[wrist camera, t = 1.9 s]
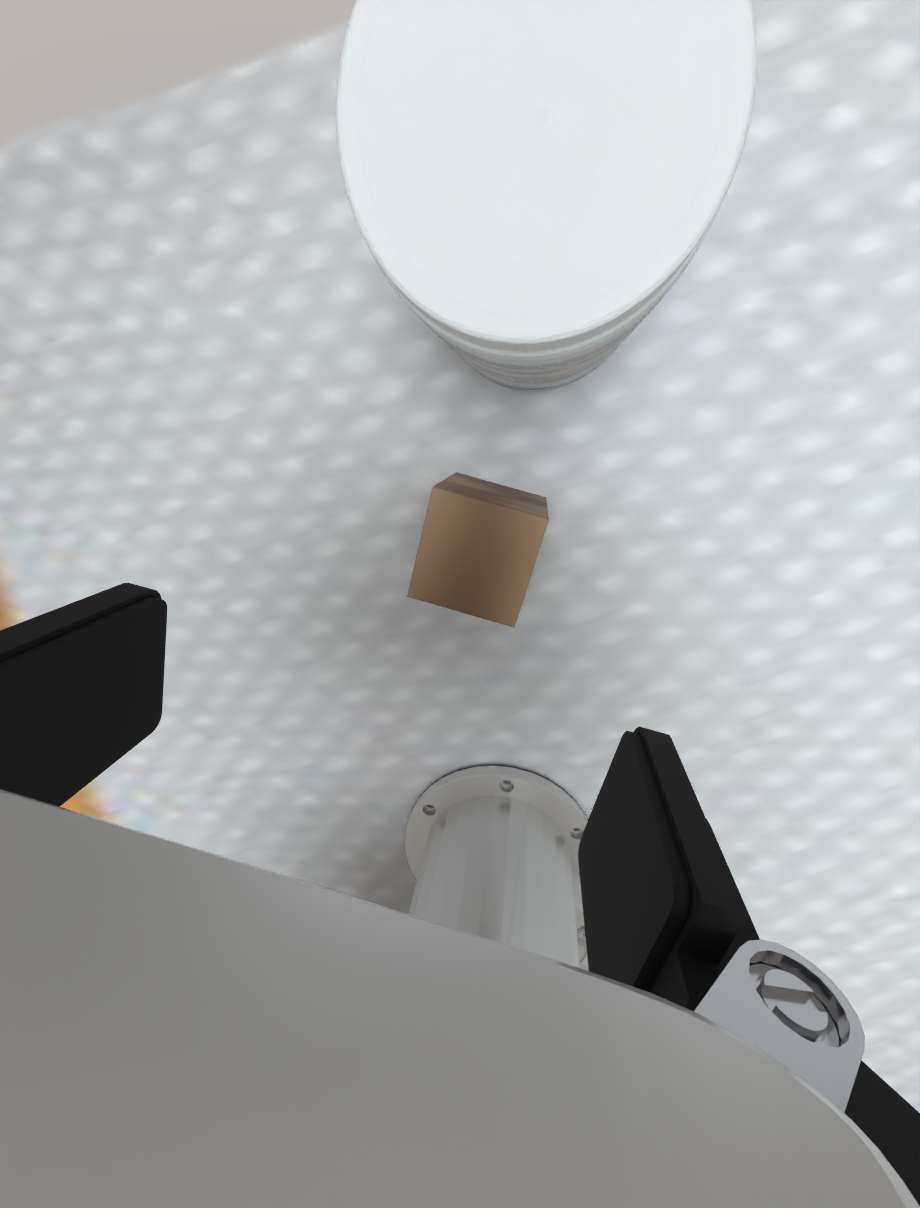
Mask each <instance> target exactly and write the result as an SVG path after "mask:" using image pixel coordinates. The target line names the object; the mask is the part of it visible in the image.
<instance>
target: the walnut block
mask: <svg viewBox="0 0 920 1208" xmlns="http://www.w3.org/2000/svg"><path fill="white" fill-rule="evenodd" d="M548 520H549V519H548V511H547V503H546V497H542V496H538V495H535V494H531V493H528V492H524V491H521V490H517V489H513V488H510V487H506V486H503V485H499V484H496V483H492V482H488V481H485V480H481V479H478V478H474V477H471V476H467V475H463V474H460V473H455V474H453V475H452V476H450V477H448V478H447V479H445V480H444V481H442V482H440V483H439V484H437V485H436V486H434V487H433V488H432V493H431V497H430V501H429V505H428V510H427V514H426V518H425V522H424V527H423V531H422V535H421V539H420V544H419V548H418V552H417V556H416V561H415V565H414V569H413V573H412V578H411V582H410V586H409V591H408V595H407V596H408V597H411V598H414V599H418V600H421V601H425V602H428V603H432V604H435V605H438V606H442V607H445V608H449V609H452V610H456V611H459V612H462V613H466V614H469V615H473V616H476V617H480V618H483V619H486V620H490V621H493V622H497V623H500V624H504V625H507V626H510V627H515V624H516V621H517V618H518V615H519V611H520V608H521V605H522V602H523V599H524V596H525V593H526V589H527V586H528V583H529V580H530V577H531V574H532V571H533V567H534V564H535V561H536V558H537V555H538V552H539V548H540V545H541V542H542V539H543V536H544V533H545V530H546V526H547V523H548Z"/></svg>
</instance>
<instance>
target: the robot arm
mask: <svg viewBox="0 0 920 1208" xmlns="http://www.w3.org/2000/svg"><path fill="white" fill-rule="evenodd" d="M166 622H167V605H166V602H165V601H164V600H161V596H160V594H159V593H158V592H157V591H156V590H152V589H149V588H145V587H142V586H138V585H134V584H131V583H123V584H121V585H118V586H115V587H113V588H110V589H108V590H105V591H102V592H100V593H97V594H95V595H92V596H89V597H87V598H84V599H82V600H79V601H76V602H74V603H71V604H68V605H66V606H63V607H61V608H58V609H55V610H53V611H50V612H48V613H45V614H42V615H40V616H37V617H35V618H32V619H29V620H27V621H24V622H22V623H19V624H16V625H14V626H11V627H9V628H6V629H3V630H1V631H0V1208H920V1113H919V1112H918V1111H917V1110H915V1109H914V1108H913V1107H912V1106H911V1105H910V1104H909V1103H908V1102H907V1101H906V1100H904V1099H903V1098H902V1097H901V1096H900V1095H899V1094H898V1093H897V1092H896V1091H895V1090H893V1089H892V1088H891V1087H890V1086H889V1085H888V1084H887V1083H886V1082H885V1081H883V1080H882V1079H881V1078H880V1077H879V1076H878V1075H877V1074H876V1073H875V1072H874V1071H872V1070H871V1069H870V1068H869V1067H868V1066H867V1065H866V1064H865V1063H864V1062H863V1061H861V1059H862V1056H863V1053H864V1041H865V1035H864V1032H863V1029H862V1026H861V1023H860V1020H859V1017H858V1016H857V1014H856V1012H855V1011H854V1009H853V1008H852V1006H851V1004H850V1003H849V1001H848V999H847V998H846V997H845V995H844V994H843V993H842V992H841V991H840V990H839V988H838V987H837V986H836V985H835V984H834V983H833V981H832V980H831V979H830V978H829V977H827V976H826V975H825V974H824V973H823V972H822V971H821V970H820V969H818V968H817V967H816V966H815V965H814V964H813V963H811V962H810V961H808V960H807V959H805V958H804V957H802V956H801V955H799V954H798V953H796V952H795V951H793V950H791V949H789V948H786V947H784V946H782V945H780V944H778V943H774V942H770V941H766V940H760V939H759V937H758V934H757V932H756V930H755V927H754V925H753V923H752V921H751V918H750V916H749V914H748V911H747V909H746V907H745V904H744V902H743V900H742V897H741V895H740V893H739V891H738V888H737V886H736V884H735V881H734V879H733V877H732V874H731V872H730V870H729V867H728V865H727V863H726V861H725V858H724V856H723V854H722V851H721V849H720V847H719V844H718V842H717V840H716V837H715V835H714V833H713V831H712V828H711V826H710V824H709V822H708V821H707V819H706V818H705V816H704V814H703V811H702V809H701V807H700V804H699V802H698V800H697V797H696V795H695V793H694V790H693V788H692V786H691V783H690V781H689V779H688V776H687V774H686V772H685V769H684V767H683V765H682V762H681V760H680V758H679V755H678V753H677V751H676V748H675V746H674V744H673V741H672V739H671V737H670V736H669V735H667V734H664V733H660V732H657V731H653V730H650V729H646V728H642V727H638V728H636V729H635V731H634V732H629V731H626V732H625V733H624V734H623V736H622V738H621V741H620V743H619V746H618V748H617V750H616V753H615V755H614V758H613V760H612V763H611V765H610V768H609V770H608V773H607V775H606V778H605V780H604V782H603V785H602V787H601V790H600V792H599V795H598V797H597V800H596V802H595V805H594V807H593V810H592V812H591V814H590V817H589V819H588V820H587V817H586V816H585V814H584V813H583V811H582V810H581V809H580V807H579V806H578V804H577V803H576V802H575V801H574V800H573V799H572V798H571V797H570V796H569V795H568V794H567V793H566V792H565V791H564V790H562V789H561V788H559V787H558V786H556V785H555V784H553V783H552V782H551V781H549V780H547V779H545V778H542V777H540V776H538V775H536V774H534V773H531V772H528V771H524V770H520V769H517V768H512V767H503V766H478V767H472V768H468V769H464V770H459V771H457V772H454V773H452V774H450V775H447V776H445V777H443V778H441V779H440V780H439V781H437V782H436V783H434V784H433V785H431V786H430V787H429V788H428V789H427V790H426V791H425V792H424V793H423V794H422V795H421V796H420V798H419V799H418V801H417V803H416V804H415V806H414V808H413V809H412V812H411V815H410V818H409V821H408V824H407V828H406V834H405V853H406V856H407V860H408V863H409V867H410V869H411V871H412V873H413V875H414V877H415V879H416V880H417V882H416V886H415V889H414V893H413V897H412V901H411V905H410V908H409V912H408V914H407V913H404V912H401V911H398V910H395V909H391V908H388V907H385V906H382V905H379V904H375V903H372V902H369V901H366V900H362V899H359V898H356V897H353V896H350V895H346V894H343V893H340V892H337V891H333V890H330V889H327V888H324V887H320V886H317V885H314V884H311V883H307V882H304V881H301V880H298V879H294V878H291V877H288V876H285V875H281V874H278V873H275V872H272V871H268V870H265V869H262V868H259V867H255V866H252V865H249V864H246V863H242V862H239V861H236V860H233V859H229V858H226V857H223V856H219V855H216V854H213V853H210V852H206V851H203V850H200V849H196V848H193V847H190V846H187V845H183V844H180V843H177V842H173V841H170V840H167V839H164V838H160V837H157V836H154V835H150V834H147V833H144V832H141V831H137V830H134V829H131V828H127V827H124V826H121V825H118V824H114V823H111V822H108V821H104V820H101V819H98V818H94V817H91V816H88V815H85V814H81V813H78V812H75V811H71V810H68V809H65V808H61V807H60V806H61V805H62V804H63V803H65V802H66V801H67V800H68V799H70V798H71V797H72V796H73V795H75V794H76V793H77V792H78V791H80V790H81V789H82V788H83V787H85V786H86V785H87V784H88V783H90V782H91V781H92V780H93V779H95V778H96V777H97V776H98V775H100V774H101V773H102V772H103V771H105V770H106V769H107V768H108V767H110V766H111V765H112V764H113V763H115V762H116V761H117V760H118V759H120V758H121V757H122V756H123V755H125V754H126V753H127V752H128V751H130V750H131V749H132V748H133V747H135V746H136V745H137V744H138V743H140V742H141V741H142V740H143V739H145V738H146V737H147V736H148V735H150V734H151V733H152V732H153V731H154V730H155V729H156V727H157V726H158V724H159V722H160V719H161V715H162V700H163V681H164V661H165V642H166ZM581 926H583V927H585V935H584V934H581V933H579V932H577V930H578V929H579V928H580V927H581Z"/></svg>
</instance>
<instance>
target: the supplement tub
mask: <svg viewBox="0 0 920 1208" xmlns="http://www.w3.org/2000/svg"><path fill="white" fill-rule="evenodd" d="M756 63H757V41H756V26H755V15H754V9H753V4H752V0H356V2H355V5H354V8H353V11H352V14H351V17H350V20H349V23H348V27H347V30H346V34H345V39H344V44H343V48H342V53H341V59H340V65H339V73H338V80H337V94H336V133H337V145H338V153H339V161H340V168H341V172H342V176H343V180H344V185H345V189H346V193H347V197H348V200H349V203H350V206H351V209H352V212H353V214H354V217H355V220H356V222H357V225H358V227H359V229H360V231H361V234H362V236H363V238H364V240H365V242H366V243H367V245H368V247H369V249H370V251H371V253H372V254H373V256H374V258H375V259H376V261H377V263H378V265H379V267H380V269H381V271H382V272H383V274H384V276H385V277H386V279H387V280H388V282H389V283H390V285H391V286H392V287H393V289H394V290H395V291H396V293H397V294H398V295H399V296H400V297H401V299H402V300H403V301H404V302H405V303H406V304H407V305H408V306H409V308H410V309H411V310H412V311H413V312H414V313H415V314H416V315H417V316H418V317H419V318H420V319H421V320H422V321H424V322H425V323H426V324H427V325H428V326H429V327H430V328H431V329H432V330H433V331H434V332H435V333H436V334H437V335H438V336H439V337H441V338H442V339H443V340H444V341H445V342H446V343H447V344H448V345H449V346H450V347H451V348H452V349H453V350H455V351H456V352H457V353H458V354H459V355H460V356H461V357H462V358H463V359H464V360H465V361H466V362H467V363H468V364H469V365H471V366H472V367H473V368H474V369H475V370H476V371H478V372H479V373H480V374H482V375H483V376H485V377H487V378H488V379H490V380H492V381H494V382H496V383H498V384H500V385H503V386H506V387H509V388H513V389H518V390H526V391H543V390H550V389H554V388H557V387H561V386H564V385H567V384H569V383H572V382H574V381H576V380H578V379H580V378H582V377H584V376H585V375H587V374H588V373H590V372H591V371H593V370H594V369H595V368H596V367H598V366H599V365H600V364H601V363H602V362H604V361H605V360H606V359H607V358H608V357H609V356H610V355H611V354H612V353H613V351H614V350H615V349H616V348H617V347H618V346H619V345H620V344H621V343H622V342H623V341H624V340H625V339H626V337H627V336H628V335H629V334H630V333H631V332H632V331H633V330H634V329H635V327H636V326H637V325H638V324H639V323H640V322H641V321H642V320H643V319H644V318H645V317H646V316H647V315H648V313H649V312H650V311H651V310H652V309H653V308H654V307H655V306H656V305H657V303H658V302H659V301H660V300H661V299H662V298H663V296H664V295H665V294H666V293H667V291H668V290H669V289H670V288H671V287H672V285H673V284H674V283H675V282H676V281H677V279H678V278H679V277H680V275H681V274H682V273H683V271H684V270H685V269H686V267H687V266H688V264H689V263H690V261H691V259H692V258H693V256H694V255H695V253H696V251H697V250H698V248H699V246H700V244H701V242H702V241H703V239H704V238H705V236H706V234H707V232H708V231H709V229H710V227H711V225H712V223H713V221H714V219H715V217H716V214H717V212H718V210H719V208H720V206H721V203H722V201H723V199H724V197H725V195H726V193H727V191H728V189H729V186H730V184H731V182H732V180H733V177H734V174H735V171H736V169H737V166H738V163H739V160H740V157H741V154H742V151H743V148H744V144H745V140H746V136H747V132H748V128H749V124H750V119H751V113H752V108H753V102H754V94H755V86H756Z"/></svg>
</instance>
